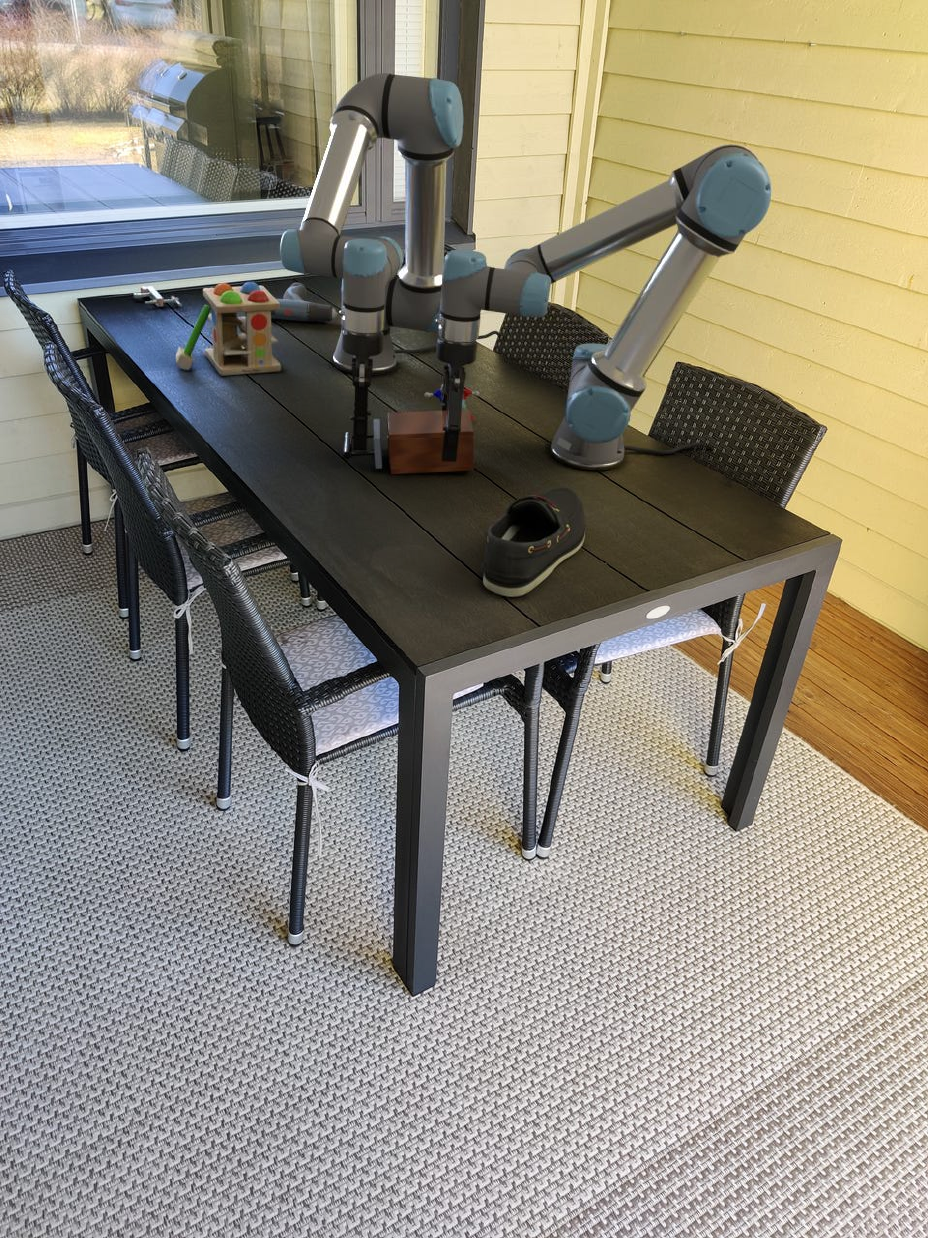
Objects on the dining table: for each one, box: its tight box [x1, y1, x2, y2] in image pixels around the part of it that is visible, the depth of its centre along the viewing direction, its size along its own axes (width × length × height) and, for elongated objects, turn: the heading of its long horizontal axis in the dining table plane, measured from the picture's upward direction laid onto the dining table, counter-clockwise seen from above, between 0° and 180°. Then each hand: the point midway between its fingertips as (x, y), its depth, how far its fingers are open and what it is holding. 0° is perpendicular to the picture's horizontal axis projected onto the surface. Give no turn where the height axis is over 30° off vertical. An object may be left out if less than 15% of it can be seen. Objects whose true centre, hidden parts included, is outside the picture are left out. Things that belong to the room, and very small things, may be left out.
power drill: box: [271, 282, 338, 322], centre depth 265 cm, size 5×19×20 cm
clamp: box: [133, 285, 183, 308], centre depth 263 cm, size 15×2×10 cm
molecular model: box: [424, 383, 480, 422], centre depth 211 cm, size 12×10×10 cm
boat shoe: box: [481, 487, 586, 598], centre depth 167 cm, size 13×33×10 cm, turn 147°
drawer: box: [342, 418, 391, 470], centre depth 192 cm, size 21×9×6 cm, turn 94°
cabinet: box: [387, 409, 475, 475], centre depth 193 cm, size 16×11×8 cm, turn 94°
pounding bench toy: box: [174, 281, 282, 377], centre depth 225 cm, size 23×14×18 cm, turn 116°
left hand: (359, 448), depth 193 cm, fingers closed
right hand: (447, 448), depth 194 cm, fingers closed on cabinet, 11 cm apart
